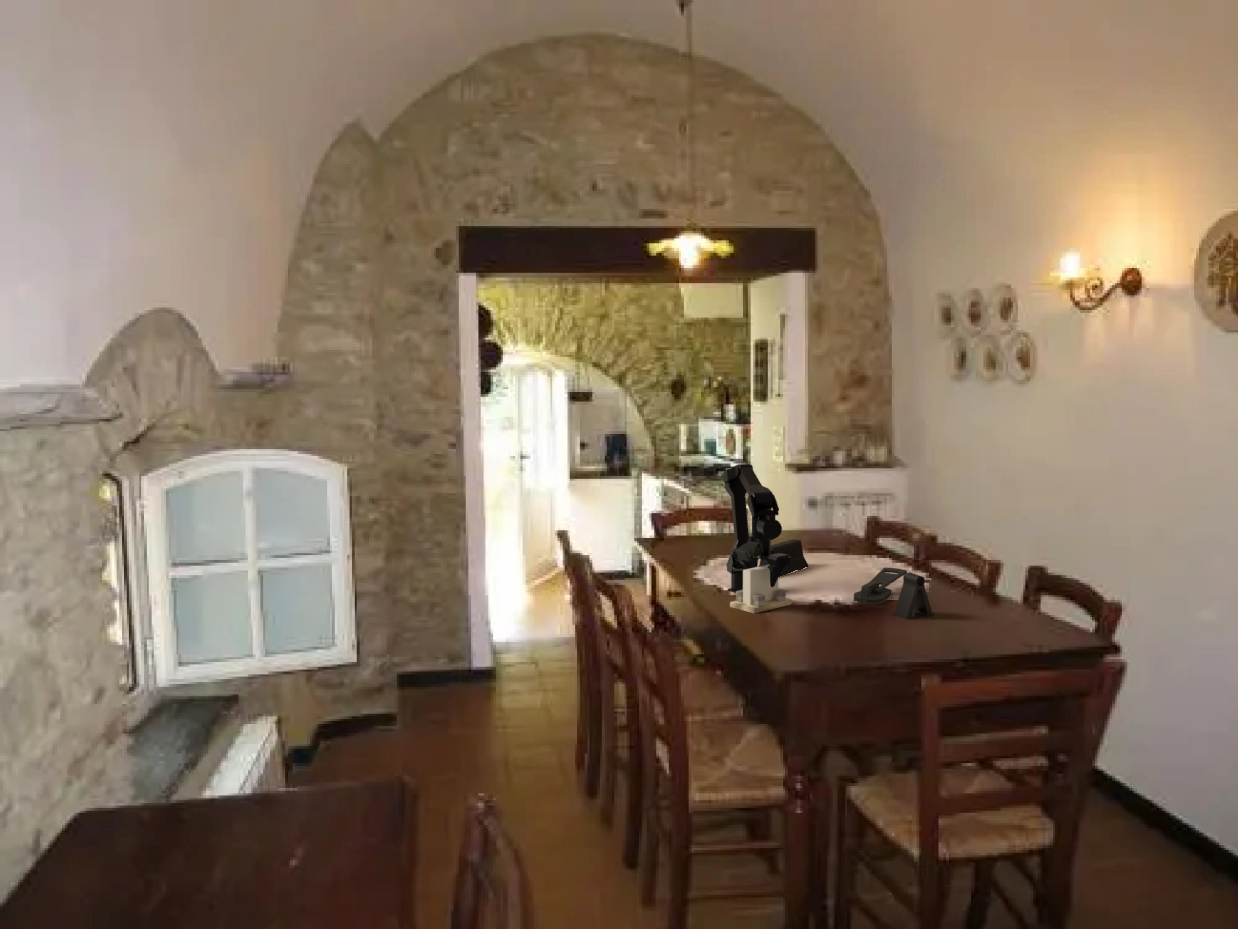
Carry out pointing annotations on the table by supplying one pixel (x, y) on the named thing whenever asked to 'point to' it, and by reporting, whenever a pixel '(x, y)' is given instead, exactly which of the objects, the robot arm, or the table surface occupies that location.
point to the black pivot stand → (913, 598)
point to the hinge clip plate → (762, 608)
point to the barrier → (791, 549)
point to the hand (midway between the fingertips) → (760, 584)
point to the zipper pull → (873, 592)
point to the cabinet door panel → (757, 584)
